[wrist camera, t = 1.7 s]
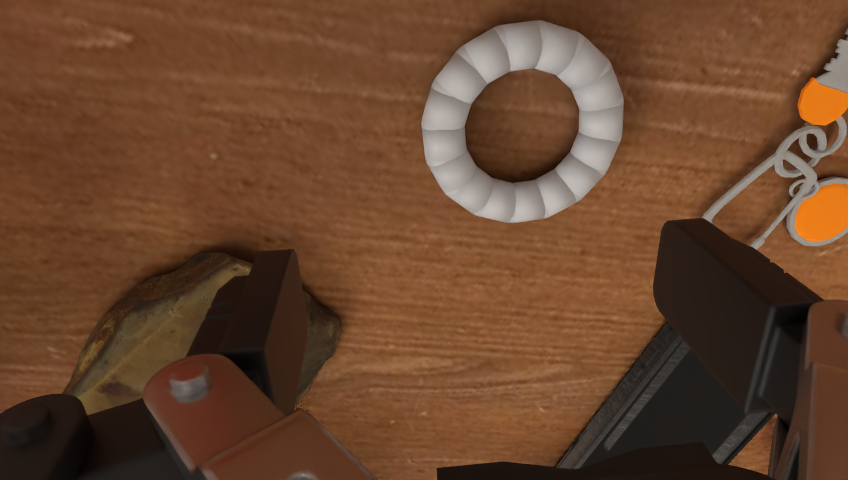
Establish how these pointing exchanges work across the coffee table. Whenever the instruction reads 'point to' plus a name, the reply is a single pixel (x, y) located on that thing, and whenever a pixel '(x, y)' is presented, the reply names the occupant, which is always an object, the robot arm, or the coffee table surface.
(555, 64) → the white segmented ring
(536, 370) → the coffee table surface
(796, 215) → the key chain
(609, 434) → the phone
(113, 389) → the decorative stone
